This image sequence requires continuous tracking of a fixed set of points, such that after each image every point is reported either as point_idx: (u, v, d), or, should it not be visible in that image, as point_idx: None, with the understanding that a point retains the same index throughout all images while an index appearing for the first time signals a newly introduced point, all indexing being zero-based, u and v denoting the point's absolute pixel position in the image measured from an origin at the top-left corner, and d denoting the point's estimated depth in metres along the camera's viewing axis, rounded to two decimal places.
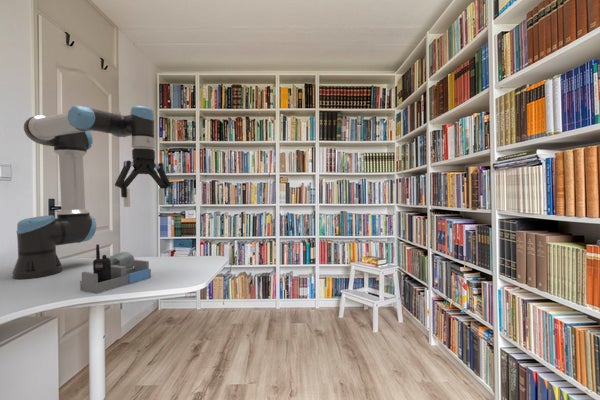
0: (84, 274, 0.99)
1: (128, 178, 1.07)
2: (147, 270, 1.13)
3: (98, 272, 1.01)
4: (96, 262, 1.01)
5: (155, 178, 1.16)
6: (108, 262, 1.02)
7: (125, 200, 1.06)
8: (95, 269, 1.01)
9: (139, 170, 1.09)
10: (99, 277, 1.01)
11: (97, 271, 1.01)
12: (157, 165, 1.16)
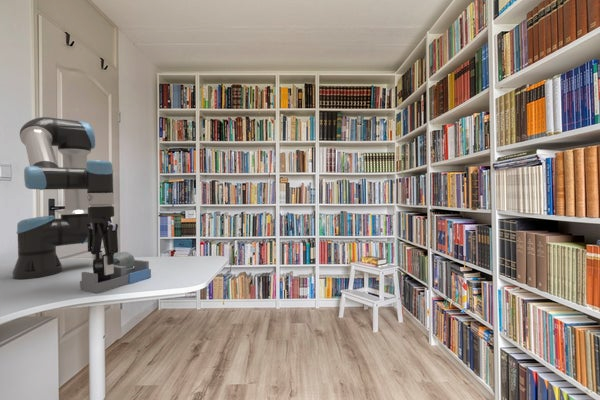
0: (84, 274, 0.99)
1: None
2: (147, 270, 1.13)
3: (98, 272, 1.01)
4: (96, 262, 1.01)
5: None
6: None
7: None
8: (95, 269, 1.01)
9: (93, 231, 1.02)
10: (99, 277, 1.01)
11: (97, 271, 1.01)
12: None
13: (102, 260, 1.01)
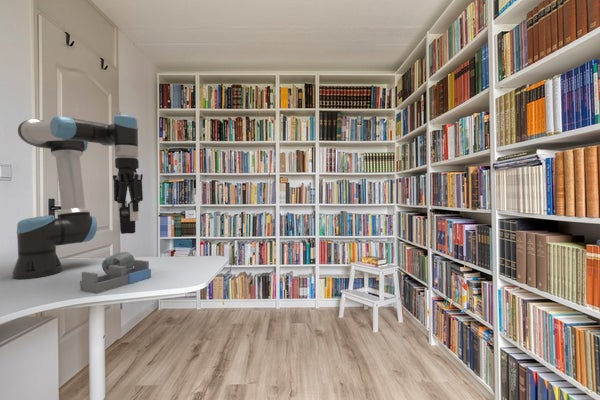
0: (84, 274, 0.99)
1: None
2: (147, 270, 1.13)
3: (124, 218, 1.10)
4: (122, 209, 1.10)
5: None
6: None
7: None
8: (121, 215, 1.10)
9: (119, 181, 1.10)
10: (125, 223, 1.10)
11: (123, 217, 1.10)
12: None
13: (128, 207, 1.10)
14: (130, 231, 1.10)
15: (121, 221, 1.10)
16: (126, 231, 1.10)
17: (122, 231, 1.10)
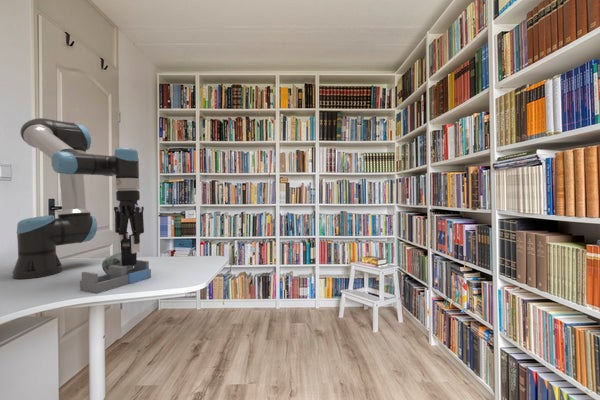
0: (84, 274, 0.99)
1: None
2: (147, 270, 1.13)
3: (125, 250, 1.10)
4: (123, 241, 1.10)
5: None
6: None
7: None
8: (122, 248, 1.10)
9: (120, 213, 1.11)
10: (126, 255, 1.10)
11: (124, 250, 1.10)
12: None
13: (129, 240, 1.10)
14: (131, 263, 1.10)
15: (122, 253, 1.10)
16: (127, 263, 1.10)
17: (123, 263, 1.10)
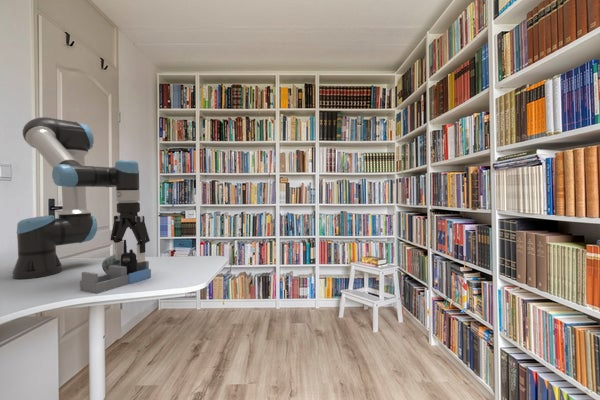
0: (84, 274, 0.99)
1: None
2: (147, 270, 1.13)
3: (125, 265, 1.10)
4: (124, 256, 1.10)
5: None
6: (134, 256, 1.11)
7: None
8: (123, 262, 1.10)
9: (120, 224, 1.11)
10: None
11: (125, 264, 1.10)
12: None
13: (129, 254, 1.10)
14: None
15: None
16: None
17: None
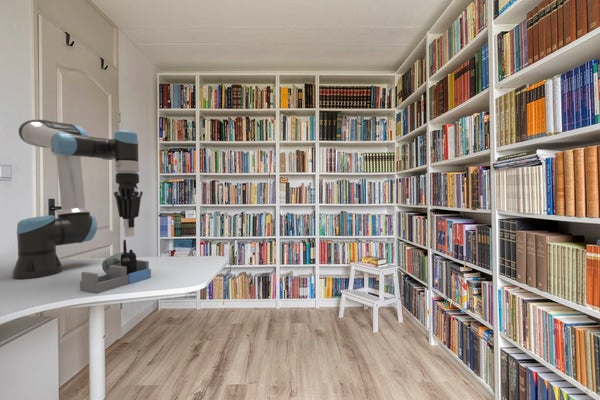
0: (84, 274, 0.99)
1: None
2: (147, 270, 1.13)
3: (125, 265, 1.10)
4: (123, 256, 1.10)
5: None
6: (134, 256, 1.11)
7: None
8: (123, 262, 1.10)
9: (121, 196, 1.10)
10: None
11: (124, 264, 1.10)
12: None
13: (129, 254, 1.10)
14: None
15: None
16: None
17: None
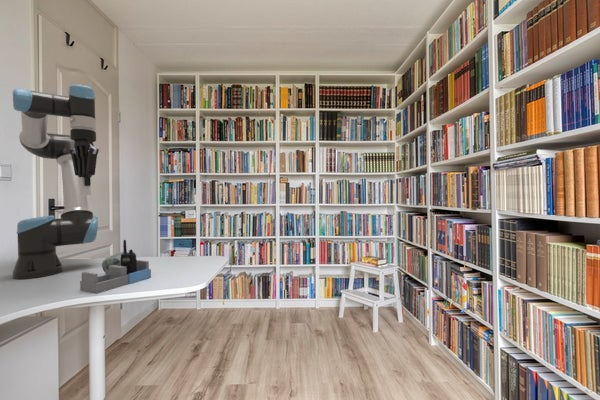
0: (84, 274, 0.99)
1: None
2: (147, 270, 1.13)
3: (125, 265, 1.10)
4: (123, 256, 1.10)
5: None
6: (134, 256, 1.11)
7: None
8: (123, 262, 1.10)
9: (76, 154, 1.07)
10: None
11: (124, 264, 1.10)
12: None
13: (129, 254, 1.10)
14: None
15: None
16: None
17: None
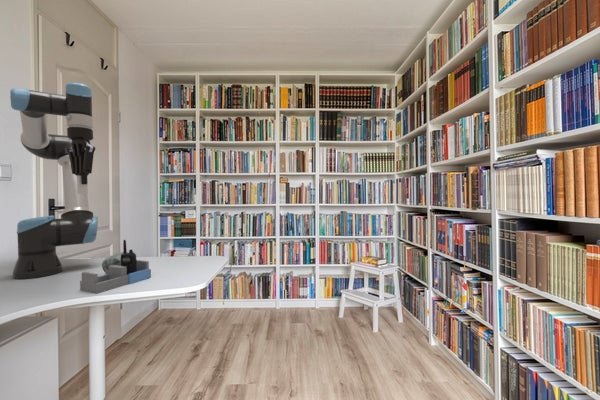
0: (84, 274, 0.99)
1: None
2: (147, 270, 1.13)
3: (125, 265, 1.10)
4: (123, 256, 1.10)
5: None
6: (134, 256, 1.11)
7: None
8: (123, 262, 1.10)
9: (73, 152, 1.07)
10: None
11: (124, 264, 1.10)
12: None
13: (129, 254, 1.10)
14: None
15: None
16: None
17: None
